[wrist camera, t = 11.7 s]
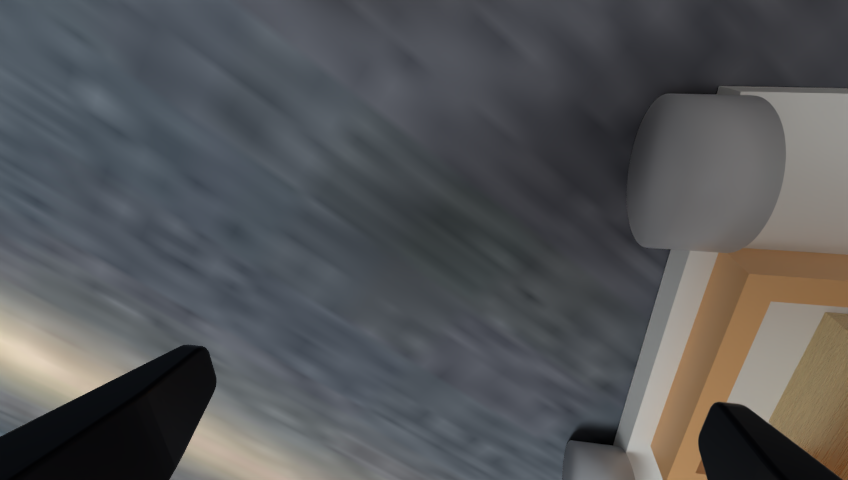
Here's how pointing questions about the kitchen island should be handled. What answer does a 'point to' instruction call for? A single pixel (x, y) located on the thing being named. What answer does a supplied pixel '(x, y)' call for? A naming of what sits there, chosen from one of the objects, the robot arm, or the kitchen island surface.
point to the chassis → (727, 264)
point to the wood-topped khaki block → (820, 397)
